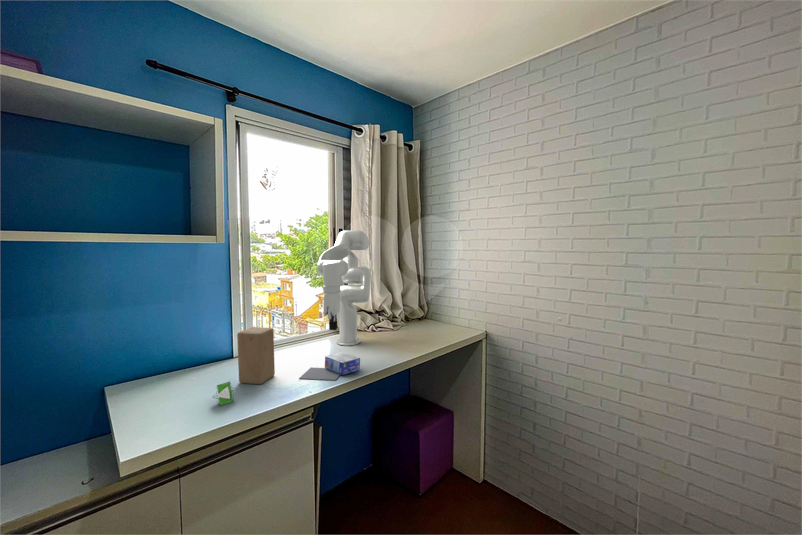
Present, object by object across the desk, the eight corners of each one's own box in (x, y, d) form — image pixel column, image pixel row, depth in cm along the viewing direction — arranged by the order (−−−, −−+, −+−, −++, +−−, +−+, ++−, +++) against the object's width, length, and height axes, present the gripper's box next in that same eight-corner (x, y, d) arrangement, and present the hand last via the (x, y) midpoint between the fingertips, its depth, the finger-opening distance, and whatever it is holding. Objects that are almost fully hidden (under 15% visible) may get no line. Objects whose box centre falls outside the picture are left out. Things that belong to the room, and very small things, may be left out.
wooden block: (261, 385, 129) (259, 333, 128) (237, 383, 131) (235, 332, 130) (275, 375, 139) (274, 327, 138) (254, 373, 141) (252, 326, 140)
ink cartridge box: (324, 369, 145) (345, 377, 135) (324, 356, 145) (345, 363, 135) (342, 363, 152) (364, 371, 143) (342, 351, 152) (364, 357, 142)
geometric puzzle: (208, 395, 116) (213, 380, 112) (229, 388, 121) (234, 374, 118) (215, 412, 113) (220, 398, 109) (236, 405, 118) (242, 391, 114)
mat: (310, 368, 147) (310, 367, 147) (344, 369, 145) (344, 368, 145) (299, 379, 135) (299, 378, 135) (335, 380, 133) (335, 379, 133)
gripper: (329, 286, 160) (330, 324, 162) (317, 292, 145) (319, 334, 147) (344, 286, 159) (345, 325, 161) (334, 292, 144) (336, 334, 146)
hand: (333, 329), depth 154 cm, fingers closed
